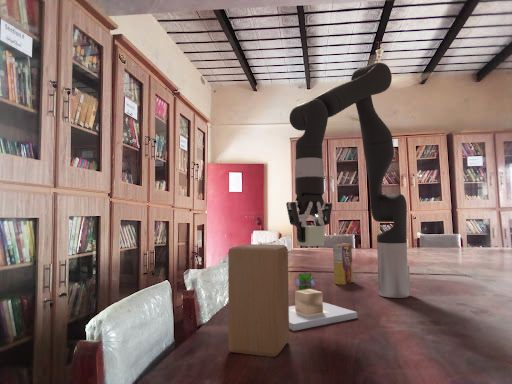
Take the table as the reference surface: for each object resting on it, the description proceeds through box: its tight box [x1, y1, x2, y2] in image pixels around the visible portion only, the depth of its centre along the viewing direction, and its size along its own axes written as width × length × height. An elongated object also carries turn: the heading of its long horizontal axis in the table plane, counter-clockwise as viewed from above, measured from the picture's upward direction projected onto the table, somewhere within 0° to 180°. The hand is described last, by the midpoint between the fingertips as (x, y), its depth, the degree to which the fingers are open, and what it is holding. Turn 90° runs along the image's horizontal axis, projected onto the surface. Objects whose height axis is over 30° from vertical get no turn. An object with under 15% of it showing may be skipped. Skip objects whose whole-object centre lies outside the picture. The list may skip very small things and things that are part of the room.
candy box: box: [332, 242, 354, 286], centre depth 143 cm, size 9×4×15 cm, turn 141°
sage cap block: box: [296, 225, 325, 247], centre depth 94 cm, size 5×5×5 cm
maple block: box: [294, 288, 324, 315], centre depth 94 cm, size 5×5×5 cm
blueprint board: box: [289, 301, 358, 332], centre depth 93 cm, size 20×14×2 cm
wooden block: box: [227, 243, 290, 358], centre depth 73 cm, size 10×10×20 cm
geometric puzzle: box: [294, 271, 316, 291], centre depth 127 cm, size 7×7×8 cm
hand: (310, 241), depth 94 cm, fingers closed on sage cap block, 5 cm apart
